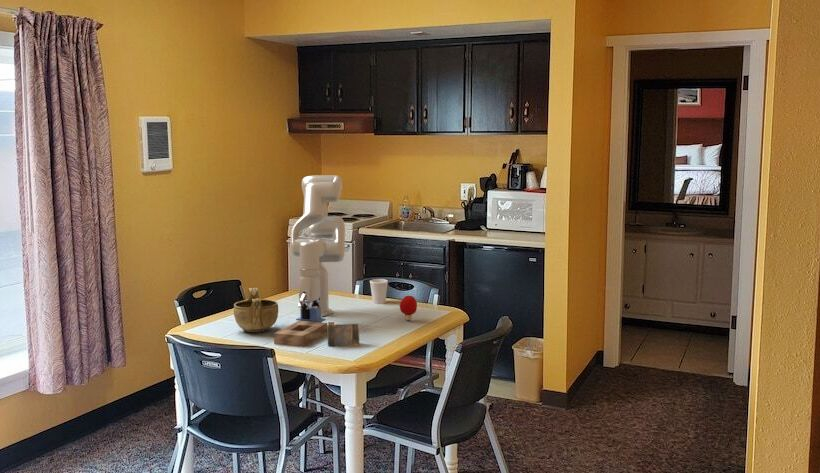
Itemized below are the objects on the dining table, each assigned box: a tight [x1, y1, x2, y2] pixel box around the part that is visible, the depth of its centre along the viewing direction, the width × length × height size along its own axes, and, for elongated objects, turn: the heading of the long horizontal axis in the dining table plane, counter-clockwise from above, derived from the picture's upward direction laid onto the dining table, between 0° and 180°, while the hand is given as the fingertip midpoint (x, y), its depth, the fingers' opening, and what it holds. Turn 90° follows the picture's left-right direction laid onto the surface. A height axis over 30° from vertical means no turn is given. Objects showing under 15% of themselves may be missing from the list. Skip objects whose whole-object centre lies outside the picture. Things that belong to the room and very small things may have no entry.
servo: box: [295, 306, 327, 323], centre depth 310 cm, size 11×4×9 cm, turn 71°
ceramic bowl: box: [233, 287, 279, 333], centre depth 306 cm, size 22×17×15 cm
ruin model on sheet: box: [327, 321, 360, 347], centre depth 285 cm, size 11×3×10 cm, turn 97°
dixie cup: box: [369, 278, 389, 305], centre depth 354 cm, size 8×8×10 cm
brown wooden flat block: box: [273, 320, 328, 348], centre depth 294 cm, size 12×20×4 cm, turn 161°
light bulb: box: [399, 295, 418, 322], centre depth 320 cm, size 9×7×10 cm
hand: (310, 316), depth 310 cm, fingers open, 7 cm apart
